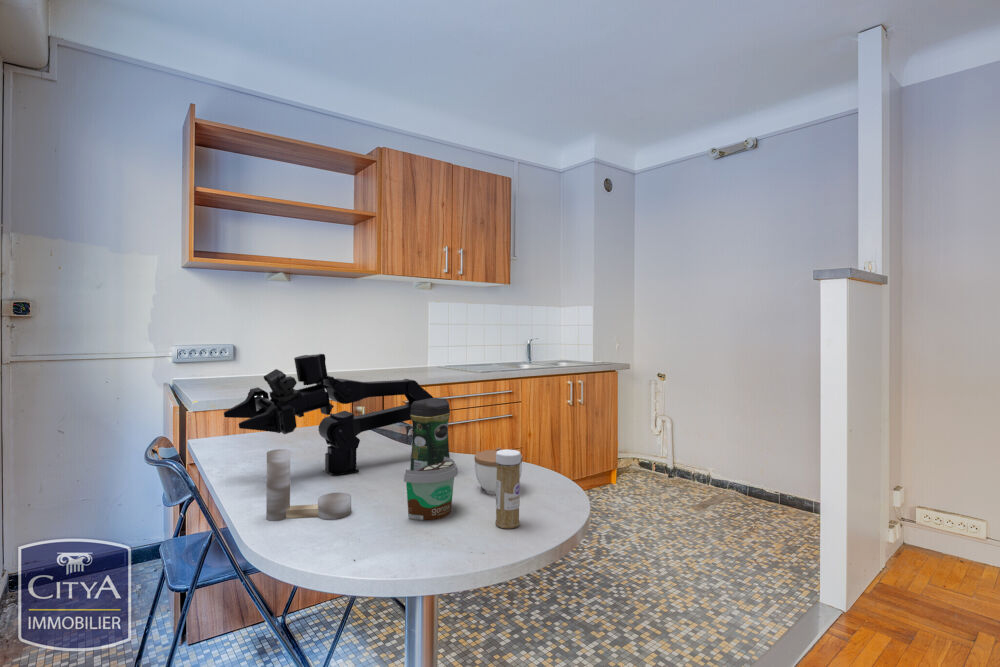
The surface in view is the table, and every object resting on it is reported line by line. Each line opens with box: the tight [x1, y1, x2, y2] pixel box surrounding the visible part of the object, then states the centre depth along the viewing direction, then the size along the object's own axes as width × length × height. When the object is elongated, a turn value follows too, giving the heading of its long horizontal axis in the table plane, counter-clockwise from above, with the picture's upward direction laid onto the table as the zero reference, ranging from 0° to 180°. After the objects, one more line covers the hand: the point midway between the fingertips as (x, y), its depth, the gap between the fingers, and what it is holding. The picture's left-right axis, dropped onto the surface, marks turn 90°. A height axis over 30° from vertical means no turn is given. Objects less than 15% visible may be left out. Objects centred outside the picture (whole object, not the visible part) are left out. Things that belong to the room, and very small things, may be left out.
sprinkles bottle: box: [494, 449, 522, 530], centre depth 94 cm, size 5×5×14 cm
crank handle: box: [265, 448, 352, 522], centre depth 95 cm, size 15×6×12 cm, turn 101°
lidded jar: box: [474, 447, 524, 495], centre depth 113 cm, size 11×11×9 cm
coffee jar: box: [409, 397, 451, 471], centre depth 124 cm, size 10×8×19 cm
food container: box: [403, 457, 459, 522], centre depth 96 cm, size 12×6×10 cm, turn 148°
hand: (231, 420), depth 109 cm, fingers open, 9 cm apart
